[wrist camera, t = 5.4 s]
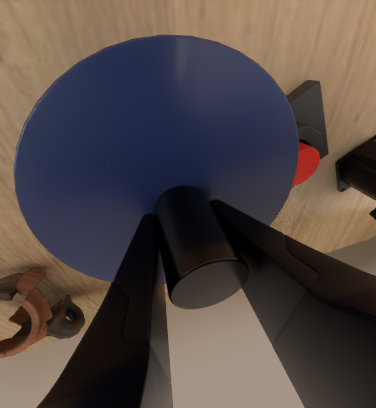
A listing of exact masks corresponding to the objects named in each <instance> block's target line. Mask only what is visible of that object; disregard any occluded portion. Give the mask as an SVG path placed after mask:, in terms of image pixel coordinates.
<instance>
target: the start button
mask: <svg viewBox="0 0 376 408" xmlns="http://www.w3.org/2000/svg"><path fill="white" fill-rule="evenodd" d="M319 159H320V155H319V152H318V151H317V150H316V149H314V148H312V147H310V146H308V145H306V144H304V143H302V142H299V158H298V165H297V171H296V175H295V178H294V182H293V185H292V186H294V185H298V184H300V183H302V182H304V181H305V180H307V179H308V178H309V177H310V176H311V175H312V174H313V173H314V171H315V170H316V168H317V166H318V164H319Z"/></svg>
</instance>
